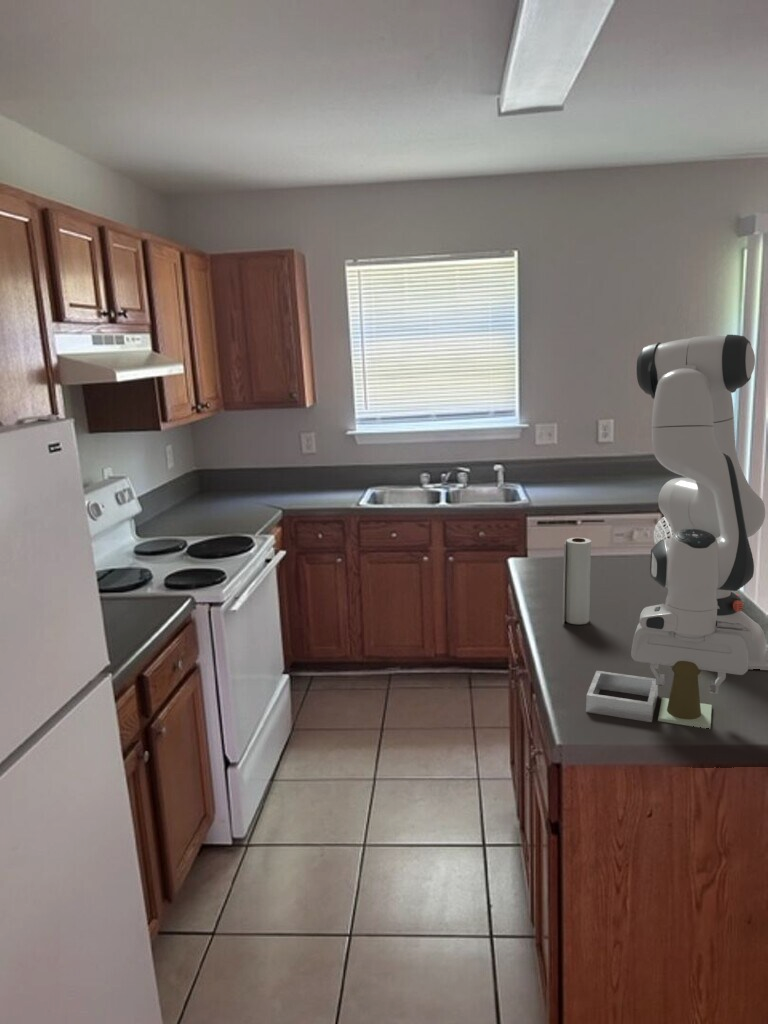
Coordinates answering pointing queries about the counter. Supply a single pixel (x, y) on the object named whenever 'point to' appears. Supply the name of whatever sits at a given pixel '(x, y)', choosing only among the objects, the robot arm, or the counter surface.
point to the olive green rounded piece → (685, 691)
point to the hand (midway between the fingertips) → (686, 688)
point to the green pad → (702, 721)
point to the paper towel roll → (576, 580)
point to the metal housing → (622, 705)
